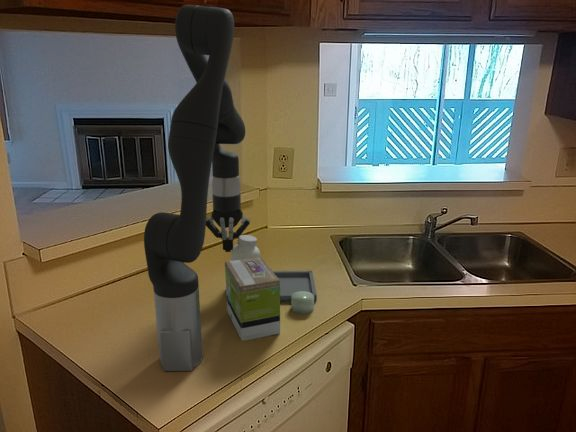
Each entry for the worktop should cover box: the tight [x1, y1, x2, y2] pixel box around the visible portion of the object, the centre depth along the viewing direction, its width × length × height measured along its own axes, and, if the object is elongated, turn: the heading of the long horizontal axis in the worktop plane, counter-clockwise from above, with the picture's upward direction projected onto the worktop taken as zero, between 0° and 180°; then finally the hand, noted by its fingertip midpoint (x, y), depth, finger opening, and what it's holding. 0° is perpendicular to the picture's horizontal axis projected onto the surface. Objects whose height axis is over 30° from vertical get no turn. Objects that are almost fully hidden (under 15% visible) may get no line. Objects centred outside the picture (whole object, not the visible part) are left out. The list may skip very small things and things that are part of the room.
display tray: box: [272, 270, 318, 303], centre depth 140 cm, size 16×16×2 cm
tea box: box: [224, 255, 281, 342], centre depth 120 cm, size 15×10×15 cm, turn 21°
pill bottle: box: [230, 234, 261, 261], centre depth 138 cm, size 8×8×15 cm
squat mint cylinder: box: [290, 291, 315, 315], centre depth 129 cm, size 6×6×4 cm
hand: (228, 251), depth 137 cm, fingers closed
